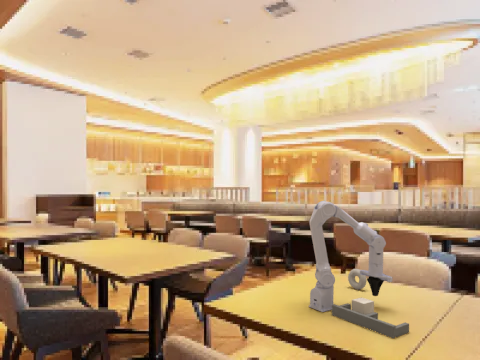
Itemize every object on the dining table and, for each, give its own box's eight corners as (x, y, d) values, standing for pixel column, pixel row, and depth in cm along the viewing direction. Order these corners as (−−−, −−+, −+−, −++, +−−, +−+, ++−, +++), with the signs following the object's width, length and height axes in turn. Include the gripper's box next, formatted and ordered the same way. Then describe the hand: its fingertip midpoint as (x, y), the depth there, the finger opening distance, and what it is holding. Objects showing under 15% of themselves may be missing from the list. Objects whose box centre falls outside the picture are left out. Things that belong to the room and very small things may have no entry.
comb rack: (393, 338, 126) (393, 326, 126) (331, 315, 148) (332, 304, 148) (409, 332, 132) (409, 320, 132) (347, 310, 153) (347, 300, 153)
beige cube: (351, 315, 149) (351, 299, 149) (361, 312, 152) (361, 297, 152) (364, 319, 144) (364, 303, 144) (374, 316, 147) (374, 301, 147)
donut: (368, 291, 182) (368, 270, 182) (363, 292, 180) (363, 271, 180) (350, 286, 190) (351, 266, 190) (346, 287, 188) (346, 267, 188)
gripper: (397, 265, 154) (396, 298, 154) (367, 258, 166) (366, 289, 166) (386, 267, 150) (386, 301, 150) (356, 260, 162) (356, 292, 162)
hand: (375, 295), depth 157 cm, fingers closed
